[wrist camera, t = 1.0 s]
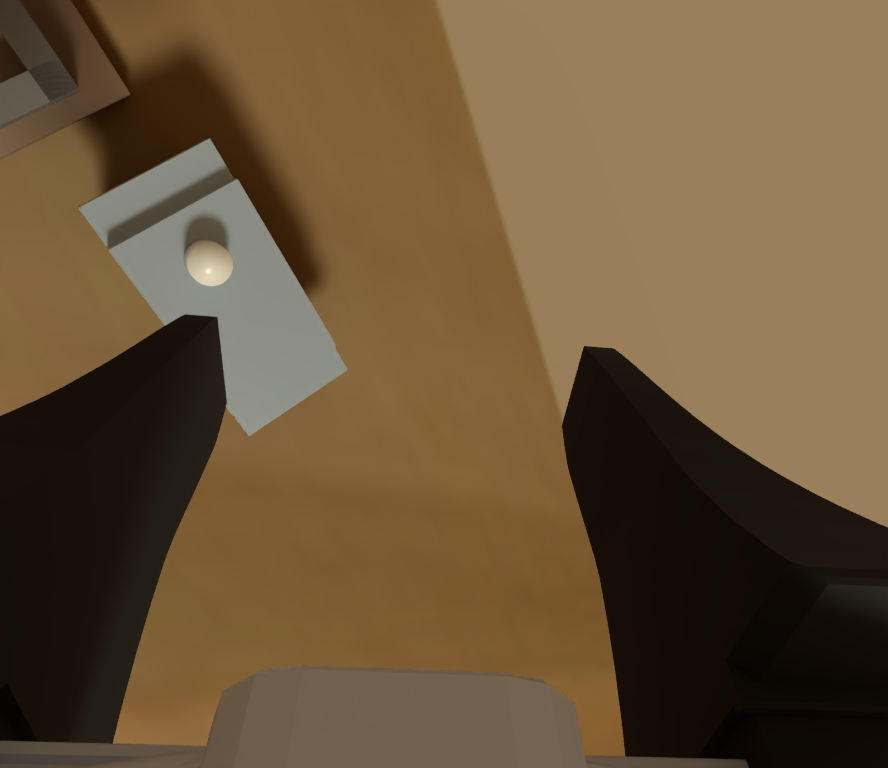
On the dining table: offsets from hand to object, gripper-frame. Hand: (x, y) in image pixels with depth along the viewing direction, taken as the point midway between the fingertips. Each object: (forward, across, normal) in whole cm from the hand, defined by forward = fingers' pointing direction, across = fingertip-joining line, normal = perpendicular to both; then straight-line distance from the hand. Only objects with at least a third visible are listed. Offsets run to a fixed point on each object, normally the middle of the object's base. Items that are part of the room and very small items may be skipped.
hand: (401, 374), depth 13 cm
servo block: (+10, +7, +4) cm, 13 cm away
